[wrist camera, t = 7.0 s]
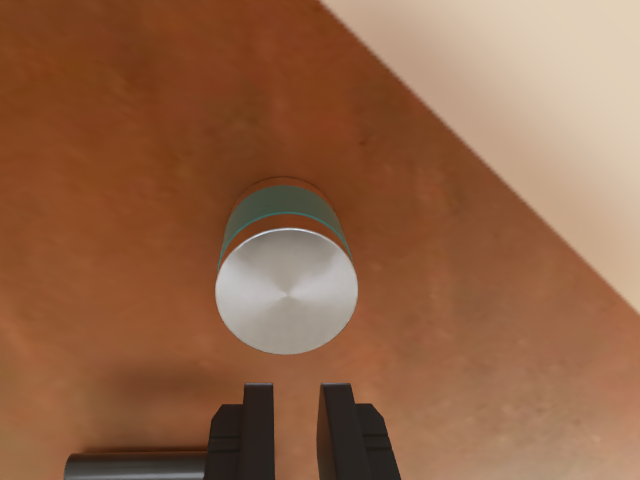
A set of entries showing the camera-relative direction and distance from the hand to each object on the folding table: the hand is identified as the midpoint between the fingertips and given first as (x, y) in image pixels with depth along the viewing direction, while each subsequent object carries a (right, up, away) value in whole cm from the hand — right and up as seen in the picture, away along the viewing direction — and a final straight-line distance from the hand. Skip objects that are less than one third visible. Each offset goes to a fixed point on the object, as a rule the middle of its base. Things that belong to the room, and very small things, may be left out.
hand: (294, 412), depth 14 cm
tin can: (-1, +5, +12) cm, 13 cm away
